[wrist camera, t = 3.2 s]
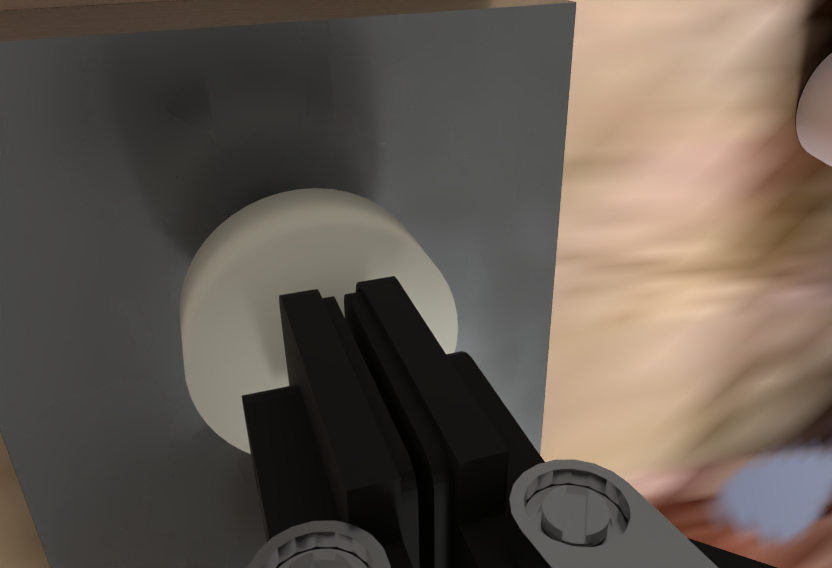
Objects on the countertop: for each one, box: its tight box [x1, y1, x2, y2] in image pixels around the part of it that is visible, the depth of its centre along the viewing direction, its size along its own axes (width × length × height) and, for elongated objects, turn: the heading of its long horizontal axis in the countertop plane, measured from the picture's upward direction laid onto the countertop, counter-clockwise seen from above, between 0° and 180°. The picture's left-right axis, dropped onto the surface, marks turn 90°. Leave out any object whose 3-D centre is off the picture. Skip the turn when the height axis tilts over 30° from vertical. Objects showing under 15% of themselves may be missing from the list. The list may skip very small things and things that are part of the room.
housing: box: [0, 0, 576, 568], centre depth 18 cm, size 17×12×4 cm
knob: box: [180, 188, 458, 454], centre depth 14 cm, size 4×4×5 cm
